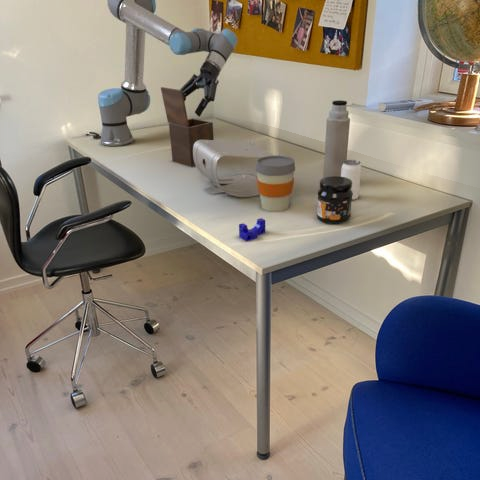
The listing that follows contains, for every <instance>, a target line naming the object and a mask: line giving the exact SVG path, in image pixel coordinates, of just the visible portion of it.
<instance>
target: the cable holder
mask: <svg viewBox="0 0 480 480" xmlns="http://www.w3.org/2000/svg"><path fill="white" fill-rule="evenodd" d="M255 223H256V224H255V225H254V226H253V227H252V228H248V224H246V223H244V222H242V223H240V224H238V231H239V232H238V237H239V238H240V239H241V240H243V241H245V242H249V241H252V240H256V239H258V236H259V235H263V234H266V219H264V218H262V217H260V218H257V219H256V222H255Z"/></svg>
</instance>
